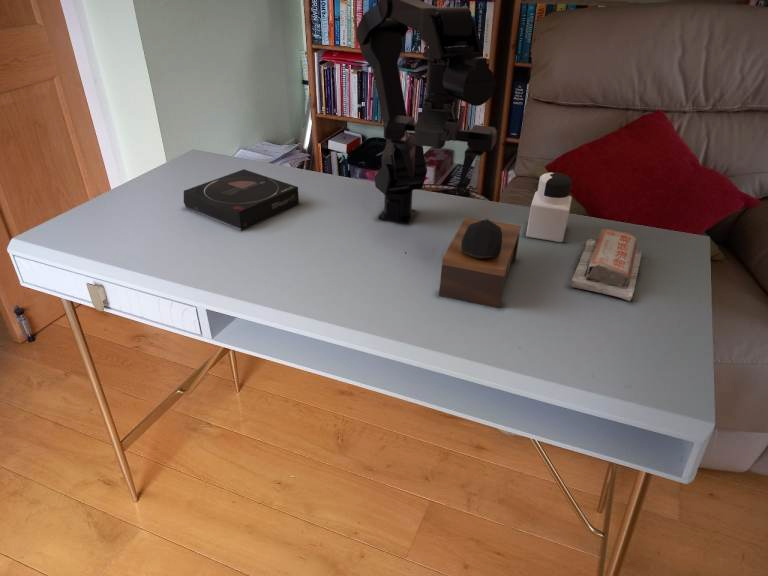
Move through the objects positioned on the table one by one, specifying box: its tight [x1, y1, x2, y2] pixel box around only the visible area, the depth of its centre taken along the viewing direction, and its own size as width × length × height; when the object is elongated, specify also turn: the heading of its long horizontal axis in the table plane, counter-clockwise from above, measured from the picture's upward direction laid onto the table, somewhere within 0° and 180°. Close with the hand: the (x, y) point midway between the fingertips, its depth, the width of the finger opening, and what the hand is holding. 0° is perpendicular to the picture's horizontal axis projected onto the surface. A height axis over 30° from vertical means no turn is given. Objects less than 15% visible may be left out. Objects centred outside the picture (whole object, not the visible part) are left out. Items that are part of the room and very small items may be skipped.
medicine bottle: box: [525, 171, 573, 243], centre depth 115 cm, size 7×7×12 cm
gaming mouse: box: [461, 218, 502, 258], centre depth 98 cm, size 6×15×4 cm, turn 165°
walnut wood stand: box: [438, 216, 522, 309], centre depth 101 cm, size 17×10×7 cm, turn 161°
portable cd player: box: [183, 168, 300, 231], centre depth 124 cm, size 16×17×4 cm
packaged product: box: [571, 228, 643, 302], centre depth 104 cm, size 18×5×10 cm
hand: (436, 180), depth 106 cm, fingers open, 9 cm apart
